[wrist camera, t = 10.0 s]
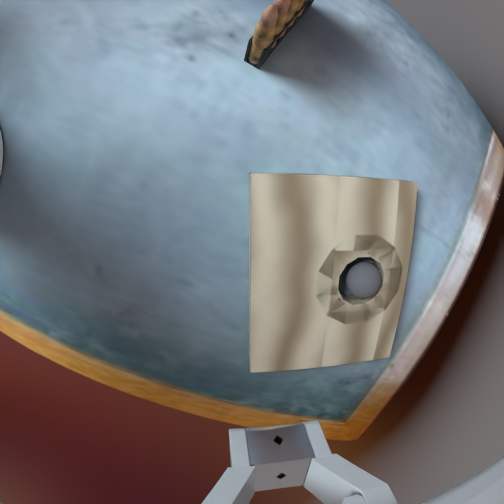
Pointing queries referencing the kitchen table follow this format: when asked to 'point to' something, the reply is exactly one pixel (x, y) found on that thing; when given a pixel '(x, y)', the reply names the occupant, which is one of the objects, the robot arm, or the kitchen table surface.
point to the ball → (363, 280)
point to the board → (324, 267)
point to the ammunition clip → (274, 28)
